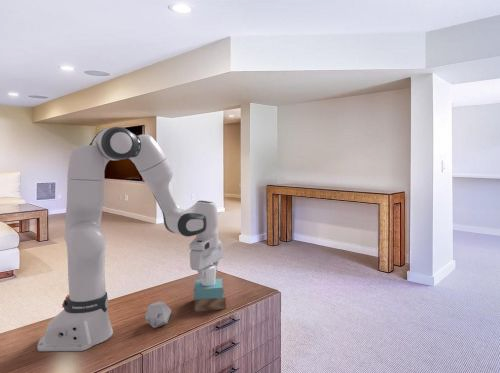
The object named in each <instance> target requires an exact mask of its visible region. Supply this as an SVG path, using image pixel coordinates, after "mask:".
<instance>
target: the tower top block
mask: <svg viewBox="0 0 500 373" xmlns="http://www.w3.org/2000/svg"><path fill="white" fill-rule="evenodd" d="M223 290H224V286H223V279H222V278H216V279H215V284H214V285H212V286H203V285H201V279H194V288H193V296H194V297H193V298H194V300H197V299H212V298H223Z"/></svg>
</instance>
